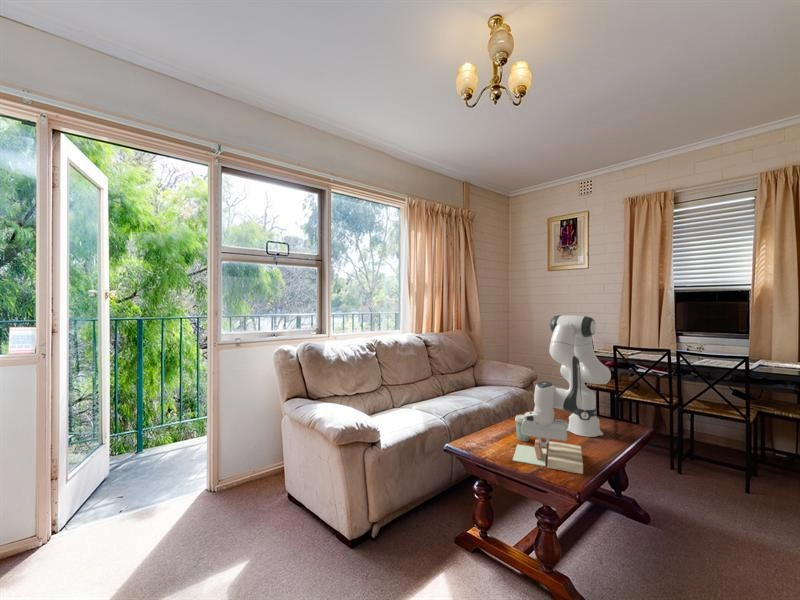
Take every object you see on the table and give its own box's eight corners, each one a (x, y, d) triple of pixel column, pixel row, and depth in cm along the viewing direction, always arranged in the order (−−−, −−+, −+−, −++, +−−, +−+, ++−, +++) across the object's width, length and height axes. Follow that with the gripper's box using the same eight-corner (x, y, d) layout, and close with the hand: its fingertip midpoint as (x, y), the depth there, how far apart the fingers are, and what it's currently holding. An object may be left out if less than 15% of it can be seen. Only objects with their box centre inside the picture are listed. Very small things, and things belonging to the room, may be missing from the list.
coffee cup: (530, 443, 190) (530, 420, 190) (513, 440, 194) (513, 417, 194) (533, 438, 197) (533, 415, 197) (516, 435, 201) (516, 413, 201)
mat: (517, 444, 188) (517, 444, 188) (546, 449, 182) (546, 449, 182) (512, 460, 170) (512, 459, 170) (545, 466, 164) (545, 465, 164)
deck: (549, 449, 183) (549, 441, 183) (580, 454, 177) (580, 445, 177) (547, 467, 163) (547, 458, 163) (582, 474, 157) (583, 464, 157)
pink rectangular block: (542, 451, 178) (538, 452, 179) (539, 439, 178) (535, 439, 179) (541, 459, 170) (537, 459, 170) (538, 446, 170) (534, 446, 171)
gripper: (568, 418, 172) (567, 448, 172) (522, 412, 180) (521, 440, 181) (568, 422, 166) (567, 453, 167) (520, 416, 175) (520, 445, 175)
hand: (543, 446), depth 174 cm, fingers closed
